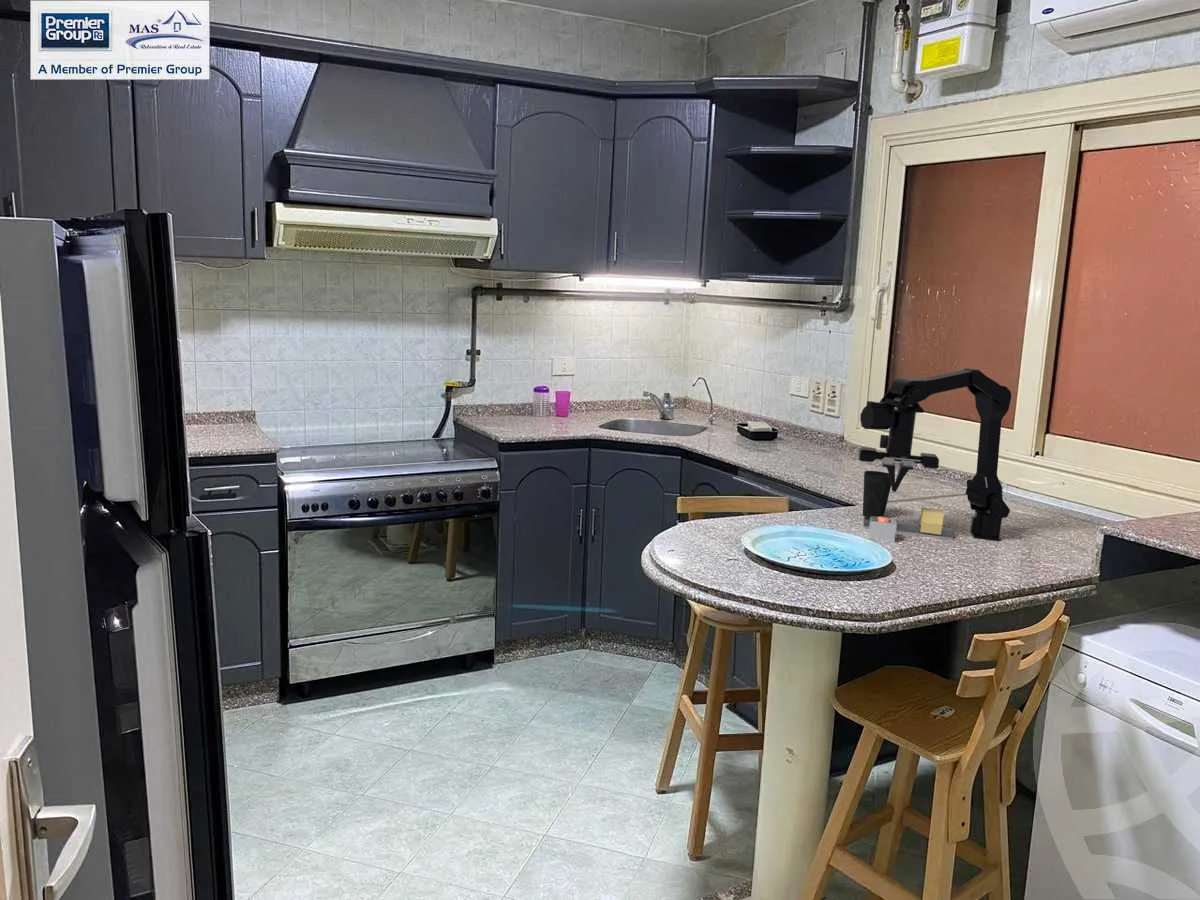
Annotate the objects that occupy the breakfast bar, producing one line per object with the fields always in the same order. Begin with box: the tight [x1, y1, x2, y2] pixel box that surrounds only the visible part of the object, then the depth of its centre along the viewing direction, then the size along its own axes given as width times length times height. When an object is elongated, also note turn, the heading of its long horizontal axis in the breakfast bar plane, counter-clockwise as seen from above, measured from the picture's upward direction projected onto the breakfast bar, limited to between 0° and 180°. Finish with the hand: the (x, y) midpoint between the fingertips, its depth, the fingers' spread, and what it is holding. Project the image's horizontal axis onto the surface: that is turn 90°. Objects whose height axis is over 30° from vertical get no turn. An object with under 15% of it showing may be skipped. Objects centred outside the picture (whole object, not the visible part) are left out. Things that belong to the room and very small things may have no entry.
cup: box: [862, 470, 892, 518], centre depth 256 cm, size 8×8×12 cm
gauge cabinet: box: [868, 516, 897, 543], centre depth 233 cm, size 6×6×4 cm
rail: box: [862, 516, 954, 541], centre depth 243 cm, size 22×6×2 cm, turn 76°
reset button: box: [878, 515, 891, 522], centre depth 233 cm, size 3×3×2 cm
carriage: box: [918, 506, 945, 535], centre depth 241 cm, size 5×5×5 cm
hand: (894, 491), depth 234 cm, fingers closed
